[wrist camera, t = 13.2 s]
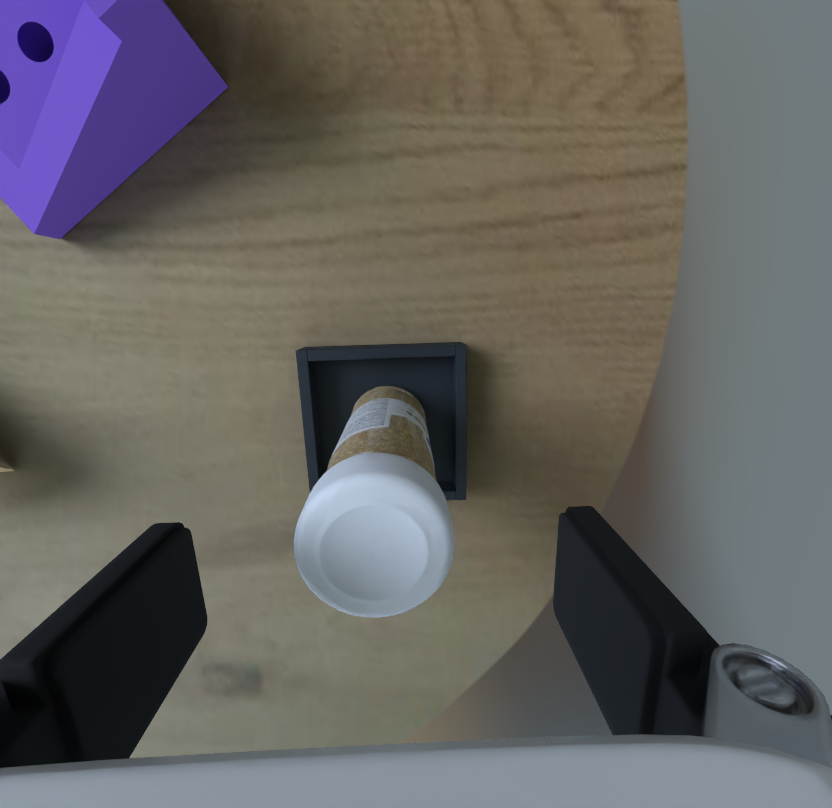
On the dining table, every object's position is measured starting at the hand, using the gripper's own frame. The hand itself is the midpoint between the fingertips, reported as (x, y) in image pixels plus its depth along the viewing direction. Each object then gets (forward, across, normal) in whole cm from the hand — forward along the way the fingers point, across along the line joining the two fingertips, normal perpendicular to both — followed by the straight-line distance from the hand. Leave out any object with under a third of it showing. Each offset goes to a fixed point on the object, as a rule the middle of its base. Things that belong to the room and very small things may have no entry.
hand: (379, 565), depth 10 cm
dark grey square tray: (+15, 0, +1) cm, 15 cm away
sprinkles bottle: (+14, 0, 0) cm, 14 cm away
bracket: (+15, +14, -16) cm, 26 cm away
